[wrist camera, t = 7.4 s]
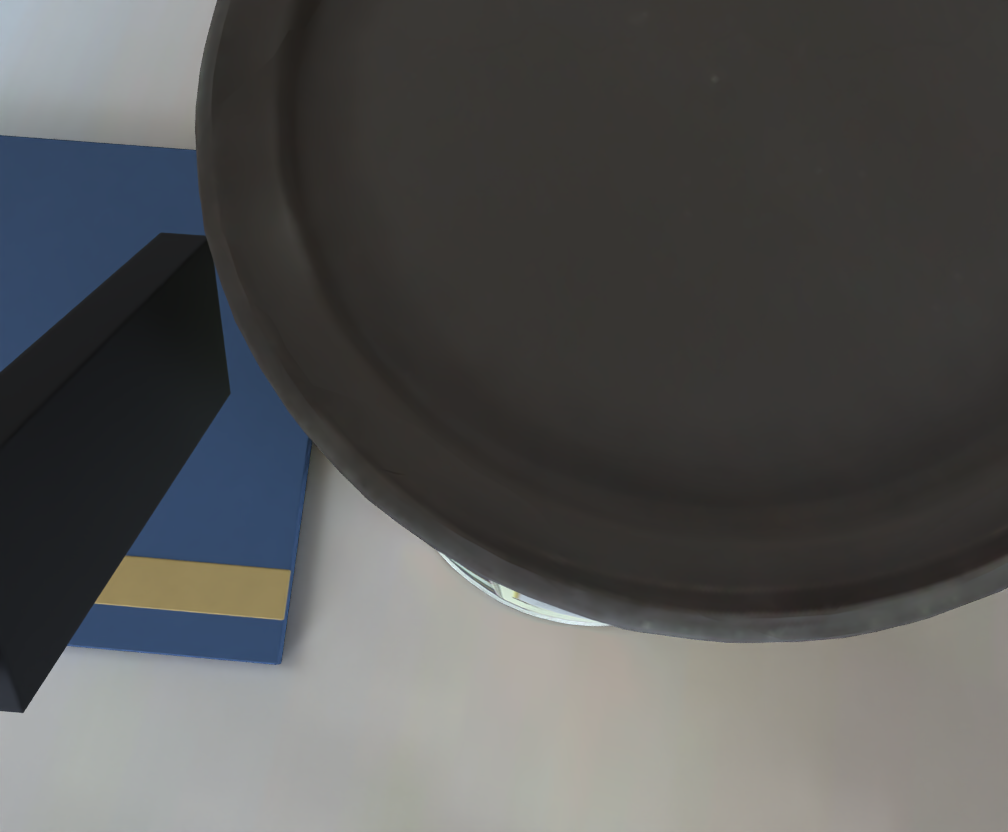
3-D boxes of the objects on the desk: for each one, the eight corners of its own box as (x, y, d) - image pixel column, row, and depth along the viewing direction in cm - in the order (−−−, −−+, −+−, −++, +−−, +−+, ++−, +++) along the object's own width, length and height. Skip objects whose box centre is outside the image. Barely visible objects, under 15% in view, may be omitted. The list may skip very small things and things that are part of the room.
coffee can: (313, 504, 22) (-32, 291, 8) (511, 170, 24) (511, -457, 10) (690, 713, 20) (1057, 892, 7) (864, 342, 22) (1416, -103, 9)
